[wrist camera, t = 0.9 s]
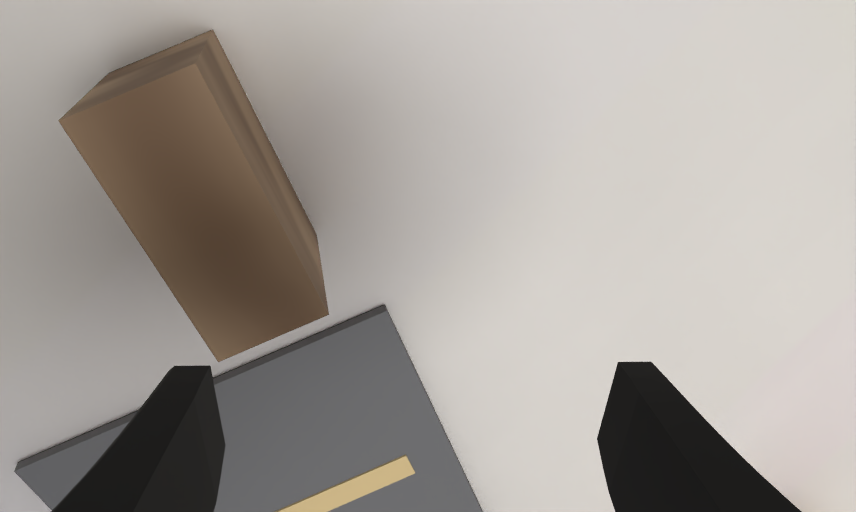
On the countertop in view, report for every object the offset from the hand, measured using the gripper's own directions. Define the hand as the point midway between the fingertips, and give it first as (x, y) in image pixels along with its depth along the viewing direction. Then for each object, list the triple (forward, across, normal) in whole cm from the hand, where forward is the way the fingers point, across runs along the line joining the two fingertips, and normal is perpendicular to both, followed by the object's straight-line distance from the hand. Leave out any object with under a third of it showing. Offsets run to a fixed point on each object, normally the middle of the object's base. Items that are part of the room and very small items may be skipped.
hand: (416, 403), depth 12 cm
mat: (+11, +5, +18) cm, 22 cm away
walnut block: (+13, +6, +2) cm, 15 cm away
